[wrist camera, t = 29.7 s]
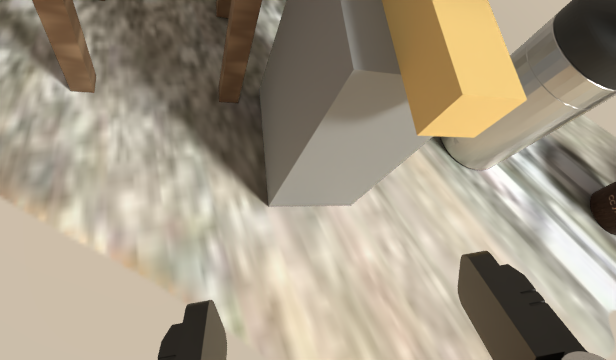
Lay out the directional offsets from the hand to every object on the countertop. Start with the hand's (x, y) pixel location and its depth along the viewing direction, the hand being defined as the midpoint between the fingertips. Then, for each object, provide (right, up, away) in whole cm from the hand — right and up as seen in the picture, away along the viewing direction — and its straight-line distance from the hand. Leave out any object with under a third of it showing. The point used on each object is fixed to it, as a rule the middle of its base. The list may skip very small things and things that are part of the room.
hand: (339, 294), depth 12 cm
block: (-1, +7, +30) cm, 31 cm away
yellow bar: (+5, +16, +11) cm, 20 cm away
